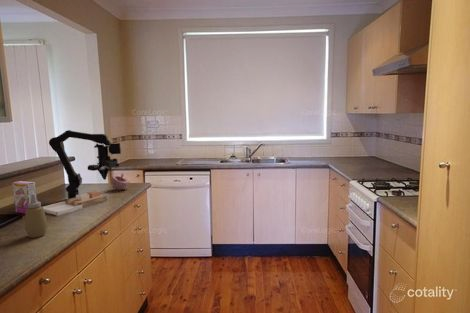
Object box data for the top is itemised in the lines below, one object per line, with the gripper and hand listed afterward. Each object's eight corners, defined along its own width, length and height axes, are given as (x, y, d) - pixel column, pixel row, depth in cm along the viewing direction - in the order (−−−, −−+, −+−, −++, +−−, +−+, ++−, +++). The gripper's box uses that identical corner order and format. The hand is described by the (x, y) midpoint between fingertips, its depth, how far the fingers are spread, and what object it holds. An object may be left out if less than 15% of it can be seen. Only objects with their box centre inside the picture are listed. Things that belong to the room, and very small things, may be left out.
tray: (39, 211, 166) (39, 207, 165) (64, 204, 178) (64, 201, 178) (57, 215, 158) (57, 212, 158) (82, 208, 170) (82, 205, 170)
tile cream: (76, 199, 178) (75, 195, 177) (84, 197, 182) (83, 193, 182) (81, 200, 175) (81, 196, 175) (89, 198, 180) (89, 194, 179)
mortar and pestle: (126, 192, 206) (125, 175, 204) (108, 192, 206) (107, 175, 204) (132, 187, 218) (131, 171, 216) (115, 187, 218) (114, 171, 216)
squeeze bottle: (32, 232, 136) (28, 192, 134) (51, 231, 137) (48, 191, 134) (21, 239, 128) (17, 197, 126) (42, 238, 129) (38, 196, 126)
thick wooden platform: (66, 204, 178) (66, 199, 177) (91, 198, 192) (91, 193, 191) (82, 208, 171) (81, 202, 171) (106, 200, 185) (106, 196, 184)
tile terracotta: (87, 196, 184) (86, 192, 183) (94, 194, 188) (94, 190, 188) (92, 197, 181) (92, 193, 181) (99, 195, 186) (99, 191, 185)
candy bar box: (14, 212, 163) (11, 182, 161) (23, 210, 168) (20, 180, 166) (29, 215, 160) (26, 184, 157) (38, 212, 164) (36, 181, 162)
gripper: (98, 157, 177) (100, 183, 179) (124, 153, 193) (125, 178, 195) (86, 156, 182) (87, 182, 184) (112, 152, 198) (113, 176, 200)
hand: (104, 179), depth 191 cm, fingers closed
